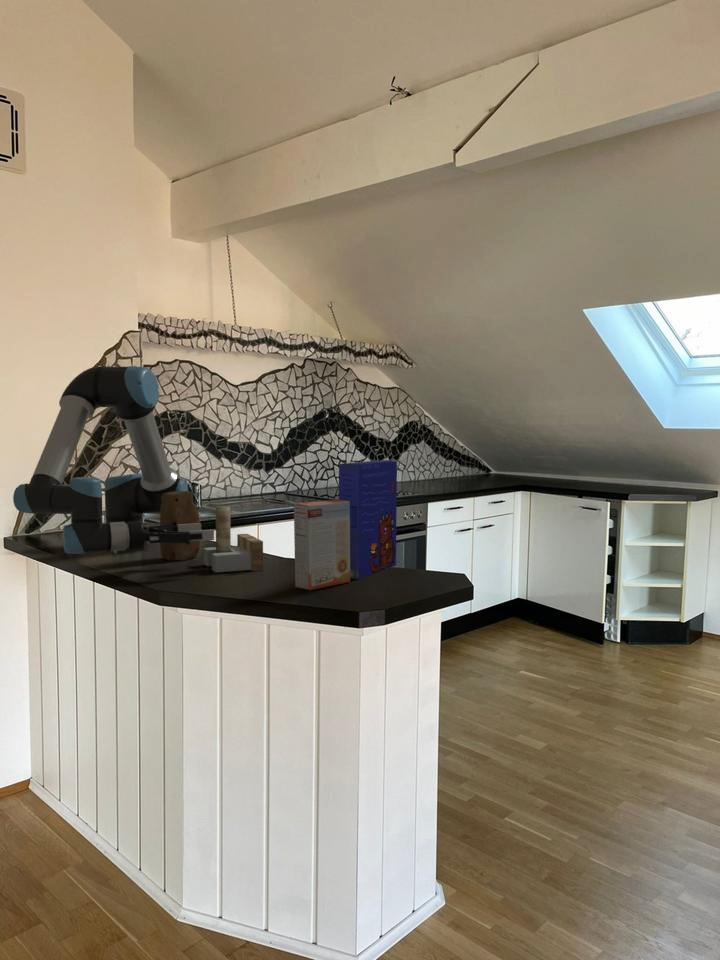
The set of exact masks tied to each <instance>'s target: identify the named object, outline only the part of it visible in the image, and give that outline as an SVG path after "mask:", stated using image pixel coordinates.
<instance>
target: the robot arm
mask: <svg viewBox="0 0 720 960" xmlns="http://www.w3.org/2000/svg"><path fill="white" fill-rule="evenodd" d="M159 389H160V388H159V383H158V380H157V377H156V376H155V374H154V372H153V371H152V370H151V369H150V368H149V367H144V366H137V365H128V366H103V365H102V366H93V367H90V368H87V369H85V370H83V371H82V372H80V373H79V374H78V375H76V377H74V378H73V379H72V380H71V381H70V383H69V384H68V385H67V386H66V388H65V389H64V390H63V392H62V394H61V396H60V399H59V403H58V404H59V407H60V409H59V411H58V414H57V416H56V419H55V421H54V424H53V426H52V428H51V431H50V434H49V436H48V438H47V441H46V443H45V445H44V447H43V449H42V452H41V454H40V457H39V459H38V462H37V464H36V466H35V469H34V471H33V473H32V476H31V479H30V481H29V483H26V482H25V483H21V484H19V485H18V486H16V488H15V490H14V491H13V495H12V498H13V499H12V500H13V505H14V507H15V508H16V510H17V511H18V512H20V513H24V514H33V515H36V514H37V515H38V514H42V515H43V514H51V515H52V514H56V515H57V514H58V515H70V517H71V518H70V523H69V524H65V525H64V526H63V527H62V545H63V546H62V547H63V550H64V552H65V553H66V554H68V555H71V554H72V555H74V554H75V555H77V554H82V555H87V554H95V553H96V554H98V553H99V554H100V553H109V552H113V553H114V554H118V551H119V552H122V551H123V552H125V551H126V550H129V551H140V550H142V549H144V547H146V546H148V545H149V544H160V543H186V545H189V544H190V542H192V541H200V542H204V541H207V542H208V541H214V540H215V530H214V529H202V523H201V522H200V523H196V524H178V526H177V522H173V524H167V525H160V524H159V525H154V526H145V524H144V514H147V515H149V514H150V515H151V514H152V515H160V510H161V504H162V501H161V496H162V494H164V493H168V492H178V491H189V486H188V485H189V484H188V481H187V479H186V478H183V477H180V478H179V476H178V473H177V471H176V469H174V468H172V467H170V464H169V461H168V457H167V453H166V451H165V448H164V444H163V440H162V438H161V435H160V431H159V428H158V425H157V422H156V419H155V415H154V411H155V409H156V406H157V404H158V403H159V401H160V400H159V399H160V391H159ZM99 408H112V409H114V412H115V415H116V417H117V418H118V419H120V420H123V423H124V424H125V427H126V431H127V433H128V436H129V440H130V442H131V445H132V448H133V451H134V453H135V456H136V459H137V462H138V465H139V469H140V471H141V473H130V474H122V475H115V476H109V477H108V478H106V479H105V480H104V482H105V483H104V491H102V480H101V479H100V478H98V477H95V476H81V477H80V476H78V477H72V478H71V479H70V482H69V483H67V484H63V483H64V480H65V478H66V476H67V473H68V470H69V468H70V464H71V462H72V460H73V457H74V454H75V452H76V449H77V447H78V444H79V442H80V439H81V437H82V434H83V432H84V429H85V426H86V424H87V421H88V419H90V418H91V417H93V416H94V413H95V411H96V410H98V409H99ZM103 492H104V510H105V512H104V513H105V514H104V516H105V522H103Z"/></svg>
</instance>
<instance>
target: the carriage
mask: <svg viewBox="0 0 720 960" xmlns="http://www.w3.org/2000/svg"><path fill="white" fill-rule="evenodd" d="M203 564H204V566H206V567H211V570H212V571H213V572H215V573H224V572H239V571H249V570H250V571H252V553H250V552H249V551H247V550H245V549H243V548H241V547H240V546H237V545H231V552H225V553H216V546H214V547H204V548H203Z"/></svg>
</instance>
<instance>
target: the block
mask: <svg viewBox="0 0 720 960" xmlns="http://www.w3.org/2000/svg"><path fill="white" fill-rule="evenodd" d="M193 496H194V495H193V492H192V491H189V490H188V491H178V492H168V493H164V494H162V496H161V501H162V504H161V510H160V514H159V516H160V517H159V525H167V524H173V522H177V526H178V524H196V523H201V519H200V513H199V511H198V509H197V505H196V504H195V503H194V499H193ZM159 544H160V546H159V547H160V554H161V557H162V558H163V559H165V560H166V561H169V562H171V561H174V562H176V561H178V562H179V561H186V560H189V559H194V558H196V557H197V556H198V554H199V551H200V548H201V541H192V542H190V544H189V545H186V543H159Z"/></svg>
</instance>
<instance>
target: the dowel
mask: <svg viewBox="0 0 720 960" xmlns="http://www.w3.org/2000/svg"><path fill="white" fill-rule="evenodd" d="M231 529H232V528H231V506H228V505H226V506H224V505H221V506H219V505H218V506H216V507H215V547H216V553H225V552H231V546H232V544H231V542H232V541H231V538H232V537H231V535H232V534H231V531H232V530H231Z"/></svg>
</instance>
